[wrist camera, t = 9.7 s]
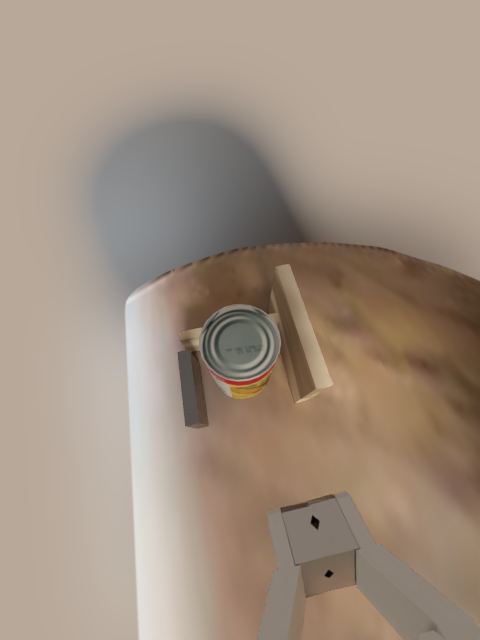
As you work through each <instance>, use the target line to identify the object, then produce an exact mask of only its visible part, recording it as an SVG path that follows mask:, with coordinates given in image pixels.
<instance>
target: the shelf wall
mask: <svg viewBox="0 0 480 640" xmlns="http://www.w3.org/2000/svg"><path fill="white" fill-rule="evenodd" d="M268 312H269V314H268V315H269V316H270V317H271V318H272V319H273V320H274V322H275V323H276V325H277V327H278V330H279V332H280V338H281V346H280V354H281V357H282V361H283V364H284V368H285V371H286V375H287V378H288V382H289V385H290V389H291V392H292V396H293V399H294V403H298V402H303V401H307V400H308V399H310V398H312V397H313V396H315V395H317V394H319V393H320V392H322V391H324V390H325V389H327V388H329V387H330V386H332V385H333V383H332V381H331V378H330V375H329V372H328V369H327V367H326V364H325V361H324V358H323V356H322V353H321V350H320V347H319V345H318V342H317V339H316V336H315V333H314V331H313V328H312V325H311V322H310V320H309V317H308V314H307V311H306V309H305V306H304V303H303V300H302V297H301V295H300V292H299V289H298V286H297V284H296V281H295V278H294V275H293V272H292V270H291V267H290V264H286V265H280V266H276V268H275V274H274V279H273V285H272V291H271V296H270V302H269V307H268ZM201 329H202V327H201V328H196V329H191V330H186V331H181V332H179V338H180V342H181V343H182V345H183V346H184V347H185V349H186V350H190V351H191V352H194V351H199V336H200V333H201Z"/></svg>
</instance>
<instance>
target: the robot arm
mask: <svg viewBox="0 0 480 640" xmlns="http://www.w3.org/2000/svg"><path fill="white" fill-rule="evenodd" d="M266 513H267V519H268V524H269V529H270V534H271V539H272V544H273V549H274V554H275V559H276V563H277V568H278V570H276V571H274V572H273V576H272V580H271V584H270V588H269V592H268V596H267V600H266V605H265V609H264V613H263V617H262V621H261V625H260V629H259V633H258V638H257V640H301V638H302V630H303V621H304V613H305V604H306V598H308V597H311V596H314V595H318V594H321V593H324V592H328V591H331V590H335V589H340V588H344V587H349V586H353V585H357V588H358V589H359V590H360V591H361V592H362V593H363V594H364V595H365V597H366V598H367V599H368V600H369V601H370V602H371V603H372V604H373V606H374V607H375V608H376V609H377V610H378V611H379V612H380V613H381V614H382V616H383V617H384V618H385V619H386V620H387V621H388V622H389V623H390V625H391V626H392V627H393V628H394V629H395V630H396V631H397V632H398V633H399V635H400V636H401V637H402V638H403V639H404V640H480V629H479V627H478V626H477V624H476V623H475V621H474V620H473V618H472V617H470V616H469V615H468V614H467V613H465V612H464V611H463V610H462V609H461V608H459V607H458V606H457V605H456V604H454V603H453V602H452V601H451V600H449V599H448V598H447V597H446V596H445V595H443V594H442V593H441V592H440V591H438V590H437V589H436V588H435V587H434V586H432V585H431V584H430V583H429V582H427V581H426V580H425V579H424V578H423V577H421V576H420V575H419V574H418V573H416V572H415V571H414V570H413V569H411V568H410V567H409V566H408V565H407V564H405V563H404V562H403V561H402V560H400V559H399V558H398V557H397V556H396V555H394V554H393V553H392V552H391V551H389V550H388V549H387V548H386V547H384V546H383V545H382V544H376V542H375V541H374V539H373V537H372V535H371V533H370V531H369V529H368V528H367V526H366V524H365V522H364V520H363V518H362V517H361V515H360V513H359V511H358V509H357V507H356V505H355V504H354V502H353V500H352V498H351V496H350V495H349V494H348V492H346V491H344V492H340V493H336V494H331V495H327V496H324V497H320V498H316V499H313V500H309V501H306V502H302V503H298V504H294V505H290V506H285V507H281V508H276V509H272V510H269V511H266Z"/></svg>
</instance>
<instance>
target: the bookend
mask: <svg viewBox="0 0 480 640" xmlns="http://www.w3.org/2000/svg"><path fill="white" fill-rule="evenodd" d="M178 360H179V369H180V379H181V388H182V398H183V407H184V417H185V426H187V427H192V428H202V427H206V426H208V420H207V413H206V406H205V399H204V392H203V385H202V378H201V370H200V365H199V363H198V362H197V360H196V359H195V357H194V356H193V354H192V352H191V351H190V350H186V351H181V352H178Z"/></svg>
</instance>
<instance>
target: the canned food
mask: <svg viewBox="0 0 480 640" xmlns="http://www.w3.org/2000/svg"><path fill="white" fill-rule="evenodd" d="M280 346H281V338H280V332H279V330H278V327H277V325H276V323H275V322H274V320H273V319H272V318H271V317H270V316H269V315H268V314H267V313H266V312H264V311H263V310H262V309H260V308H257V307H255V306H252V305H247V304H232V305H229V306H226V307H223V308H221V309H219V310H217V311H216V312H214V313H213V314H212V315H211V316H210V317H209V318H208V319H207V320H206V322H205V324H204V325H203V327H202V329H201V333H200V336H199V350H200V353H201V356H202V359H203V361H204V363H205V364H206V366H207V368H208V370H209V372H210V374H211V375H212V377H213V379H214V381H215V383H216V384H217V386H218V387H219V389H220V390H221V391H222V392H223V393H224V394H225V395H227V396H230V397H232V398H235V399H248V398H251V397H254V396H256V395H257V394H258V393H260V392H261V391H262V390H263V389H264V387H265V386H266V384H267V382H268V380H269V377H270V375H271V372H272V370H273V367H274V365H275V362H276V360H277V357H278V355H279V352H280Z"/></svg>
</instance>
